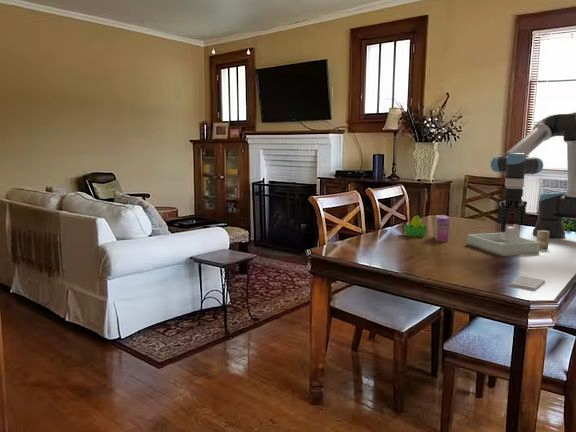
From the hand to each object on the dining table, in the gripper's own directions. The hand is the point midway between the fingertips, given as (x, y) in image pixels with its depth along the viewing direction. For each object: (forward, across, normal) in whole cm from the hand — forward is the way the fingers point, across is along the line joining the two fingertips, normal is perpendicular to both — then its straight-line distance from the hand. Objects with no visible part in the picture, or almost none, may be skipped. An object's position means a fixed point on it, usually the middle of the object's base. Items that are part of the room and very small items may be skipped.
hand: (509, 238), depth 210 cm
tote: (+6, 0, -5) cm, 8 cm away
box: (+6, +15, -31) cm, 35 cm away
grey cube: (0, 0, 0) cm, 0 cm away
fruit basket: (+6, +23, -43) cm, 49 cm away
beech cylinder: (+6, -20, -2) cm, 21 cm away
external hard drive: (+7, +30, +44) cm, 54 cm away
